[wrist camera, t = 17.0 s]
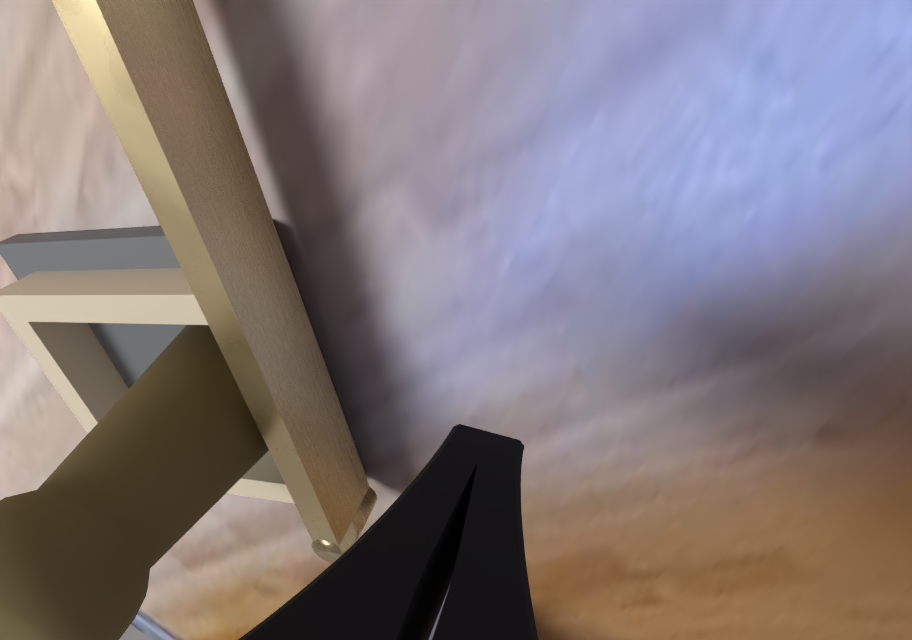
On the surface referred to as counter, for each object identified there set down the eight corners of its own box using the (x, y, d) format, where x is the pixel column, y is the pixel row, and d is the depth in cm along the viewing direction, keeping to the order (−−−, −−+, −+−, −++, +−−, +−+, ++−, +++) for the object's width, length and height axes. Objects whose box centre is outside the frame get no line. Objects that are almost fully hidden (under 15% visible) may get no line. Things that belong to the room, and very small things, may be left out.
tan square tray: (366, 474, 25) (337, 528, 23) (154, 449, 30) (111, 492, 27) (272, 219, 19) (218, 257, 16) (16, 234, 23) (-56, 266, 21)
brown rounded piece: (263, 306, 20) (-37, 582, 11) (331, 426, 23) (134, 723, 14) (152, 323, 22) (-167, 562, 13) (225, 430, 25) (1, 686, 16)
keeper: (380, 507, 24) (352, 567, 22) (349, 502, 25) (318, 560, 22) (179, -57, 13) (77, -60, 11) (130, -44, 14) (23, -44, 11)
